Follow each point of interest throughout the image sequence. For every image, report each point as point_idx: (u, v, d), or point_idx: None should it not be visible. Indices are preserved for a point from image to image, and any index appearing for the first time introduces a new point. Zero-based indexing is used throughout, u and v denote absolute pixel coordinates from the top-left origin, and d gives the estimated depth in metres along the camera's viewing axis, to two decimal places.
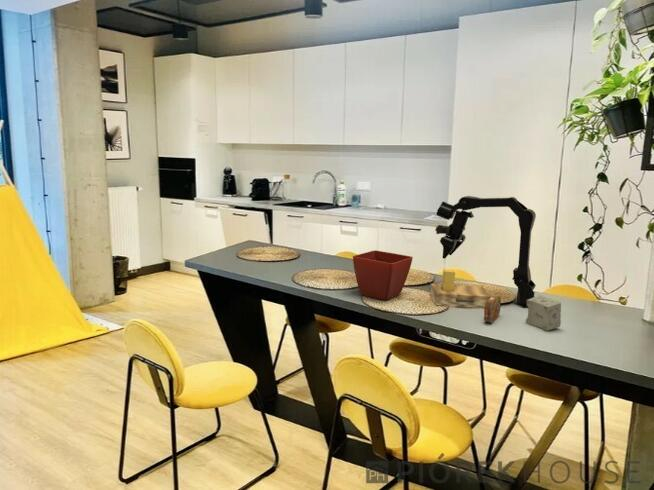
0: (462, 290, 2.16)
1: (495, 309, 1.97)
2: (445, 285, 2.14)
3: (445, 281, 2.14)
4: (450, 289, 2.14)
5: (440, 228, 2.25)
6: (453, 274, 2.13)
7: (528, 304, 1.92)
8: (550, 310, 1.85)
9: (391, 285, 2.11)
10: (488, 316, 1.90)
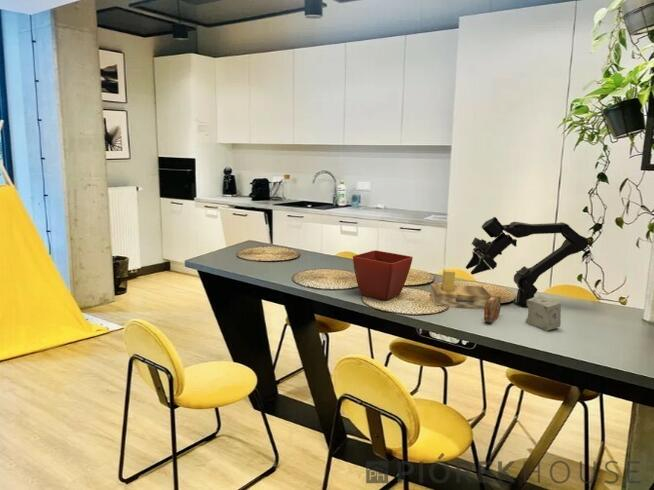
0: (462, 290, 2.16)
1: (495, 309, 1.97)
2: (445, 285, 2.14)
3: (445, 281, 2.14)
4: (450, 289, 2.14)
5: (484, 243, 2.08)
6: (453, 274, 2.13)
7: (528, 304, 1.92)
8: (550, 310, 1.85)
9: (391, 285, 2.11)
10: (488, 316, 1.90)
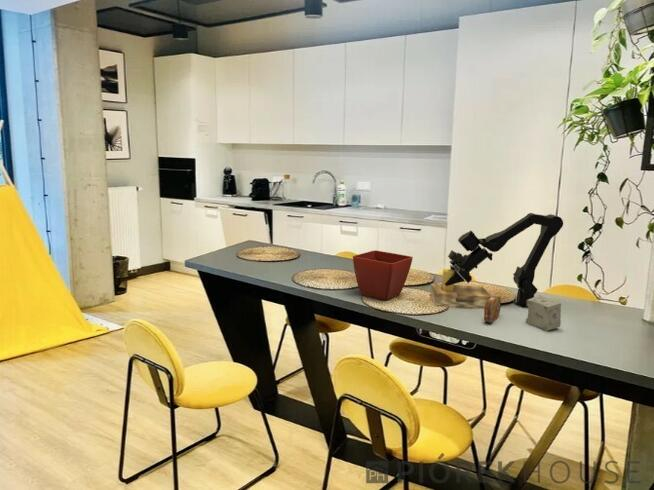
0: (462, 290, 2.16)
1: (495, 309, 1.97)
2: (445, 285, 2.14)
3: (445, 281, 2.14)
4: (450, 289, 2.14)
5: (459, 257, 2.09)
6: None
7: (528, 304, 1.92)
8: (550, 310, 1.85)
9: (391, 285, 2.11)
10: (488, 316, 1.90)
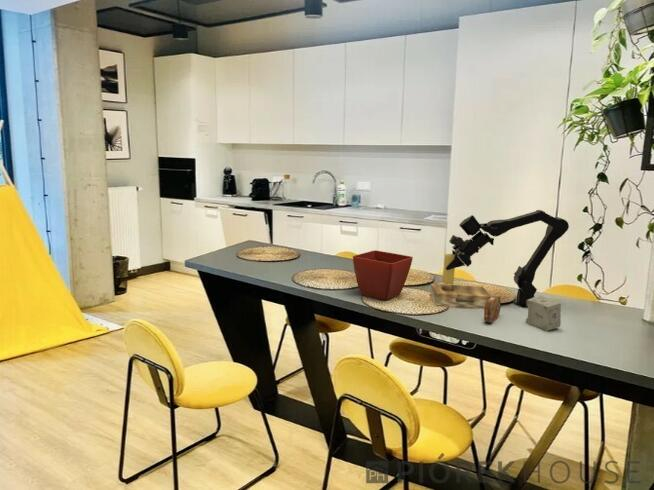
0: (462, 290, 2.16)
1: (495, 309, 1.97)
2: (446, 269, 2.16)
3: (446, 265, 2.15)
4: (451, 273, 2.16)
5: (460, 241, 2.10)
6: None
7: (528, 304, 1.92)
8: (550, 310, 1.85)
9: (391, 285, 2.11)
10: (488, 316, 1.90)
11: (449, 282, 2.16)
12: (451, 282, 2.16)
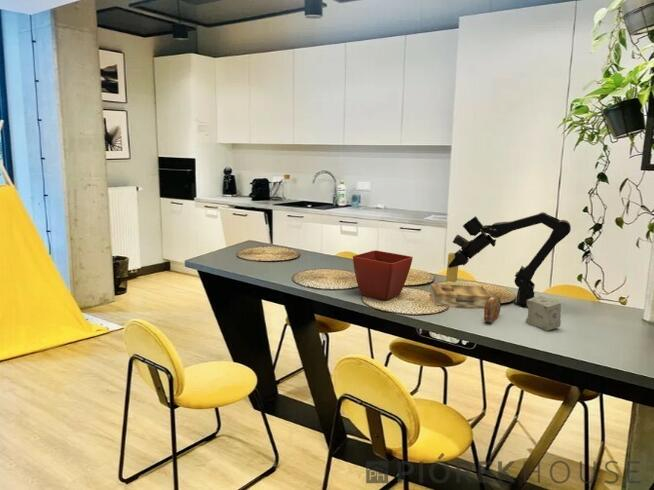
0: (462, 290, 2.16)
1: (495, 309, 1.97)
2: (448, 267, 2.26)
3: (448, 263, 2.25)
4: (453, 271, 2.25)
5: (460, 240, 2.19)
6: None
7: (528, 304, 1.92)
8: (550, 310, 1.85)
9: (391, 285, 2.11)
10: (488, 316, 1.90)
11: (451, 280, 2.26)
12: (453, 280, 2.26)
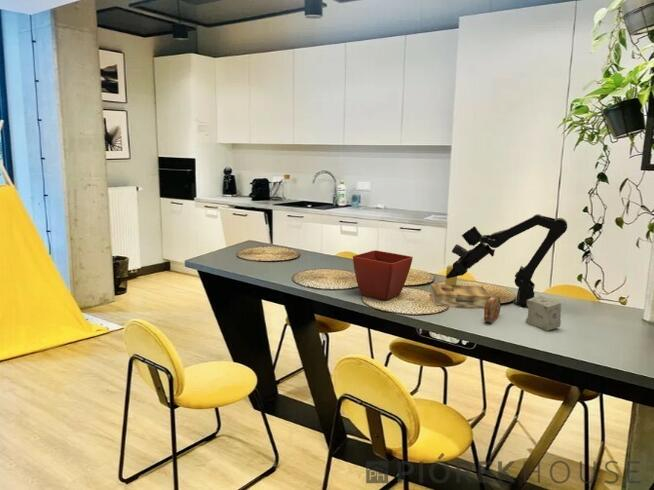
0: (462, 290, 2.16)
1: (495, 309, 1.97)
2: (447, 280, 2.27)
3: None
4: (451, 284, 2.26)
5: (459, 250, 2.20)
6: None
7: (528, 304, 1.92)
8: (550, 310, 1.85)
9: (391, 285, 2.11)
10: (488, 316, 1.90)
11: None
12: None
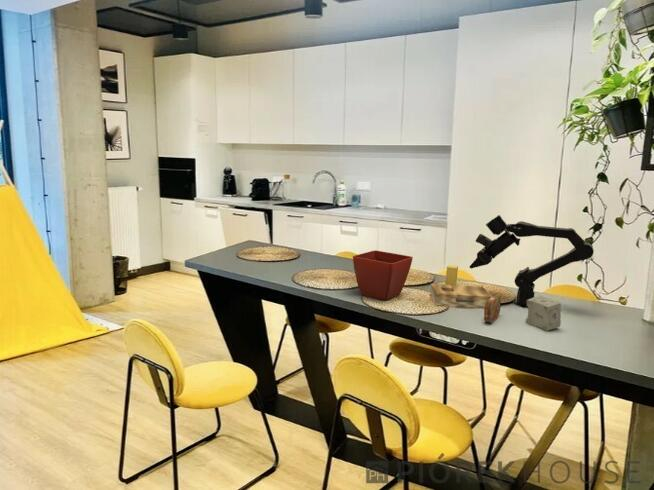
0: (462, 290, 2.16)
1: (495, 309, 1.97)
2: (447, 280, 2.27)
3: (447, 276, 2.27)
4: (452, 284, 2.26)
5: (483, 239, 2.16)
6: (454, 270, 2.25)
7: (528, 304, 1.92)
8: (550, 310, 1.85)
9: (391, 285, 2.11)
10: (488, 316, 1.90)
11: None
12: None
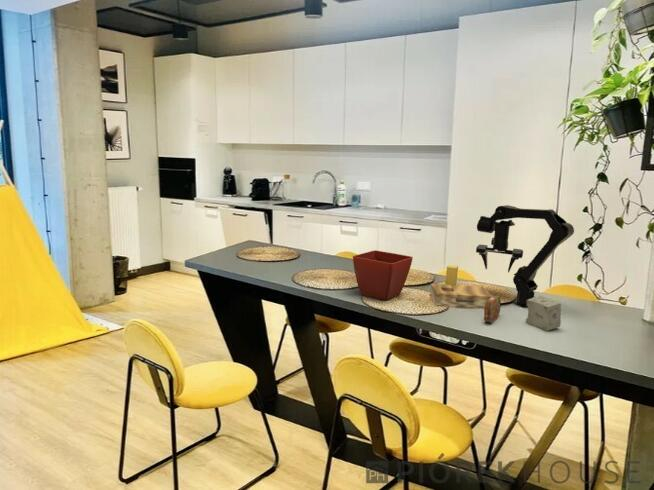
0: (462, 290, 2.16)
1: (495, 309, 1.97)
2: (447, 280, 2.27)
3: (447, 276, 2.27)
4: (452, 284, 2.26)
5: None
6: (454, 270, 2.25)
7: (528, 304, 1.92)
8: (550, 310, 1.85)
9: (391, 285, 2.11)
10: (488, 316, 1.90)
11: None
12: None
